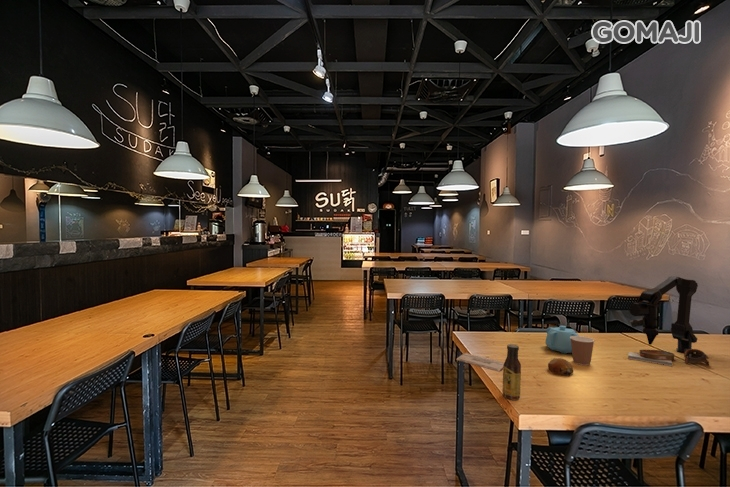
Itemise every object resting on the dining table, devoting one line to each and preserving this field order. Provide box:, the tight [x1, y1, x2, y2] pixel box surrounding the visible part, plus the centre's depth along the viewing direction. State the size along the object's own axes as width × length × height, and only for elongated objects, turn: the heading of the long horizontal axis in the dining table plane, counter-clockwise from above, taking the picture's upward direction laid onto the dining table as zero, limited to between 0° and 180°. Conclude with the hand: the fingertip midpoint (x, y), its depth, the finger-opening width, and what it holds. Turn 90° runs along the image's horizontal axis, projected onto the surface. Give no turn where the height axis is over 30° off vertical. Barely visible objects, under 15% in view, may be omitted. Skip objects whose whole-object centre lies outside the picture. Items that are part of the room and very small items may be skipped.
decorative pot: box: [544, 325, 580, 355], centre depth 190 cm, size 16×16×14 cm
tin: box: [639, 349, 676, 361], centre depth 178 cm, size 15×3×8 cm
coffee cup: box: [570, 335, 595, 366], centre depth 170 cm, size 10×10×12 cm
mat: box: [627, 351, 673, 367], centre depth 177 cm, size 12×17×1 cm
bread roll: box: [547, 357, 574, 377], centre depth 158 cm, size 10×10×8 cm
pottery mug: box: [683, 348, 710, 366], centre depth 171 cm, size 12×10×8 cm
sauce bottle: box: [502, 343, 522, 401], centre depth 132 cm, size 7×6×20 cm
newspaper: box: [456, 352, 504, 373], centre depth 170 cm, size 23×12×2 cm, turn 46°
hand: (650, 344), depth 185 cm, fingers closed
